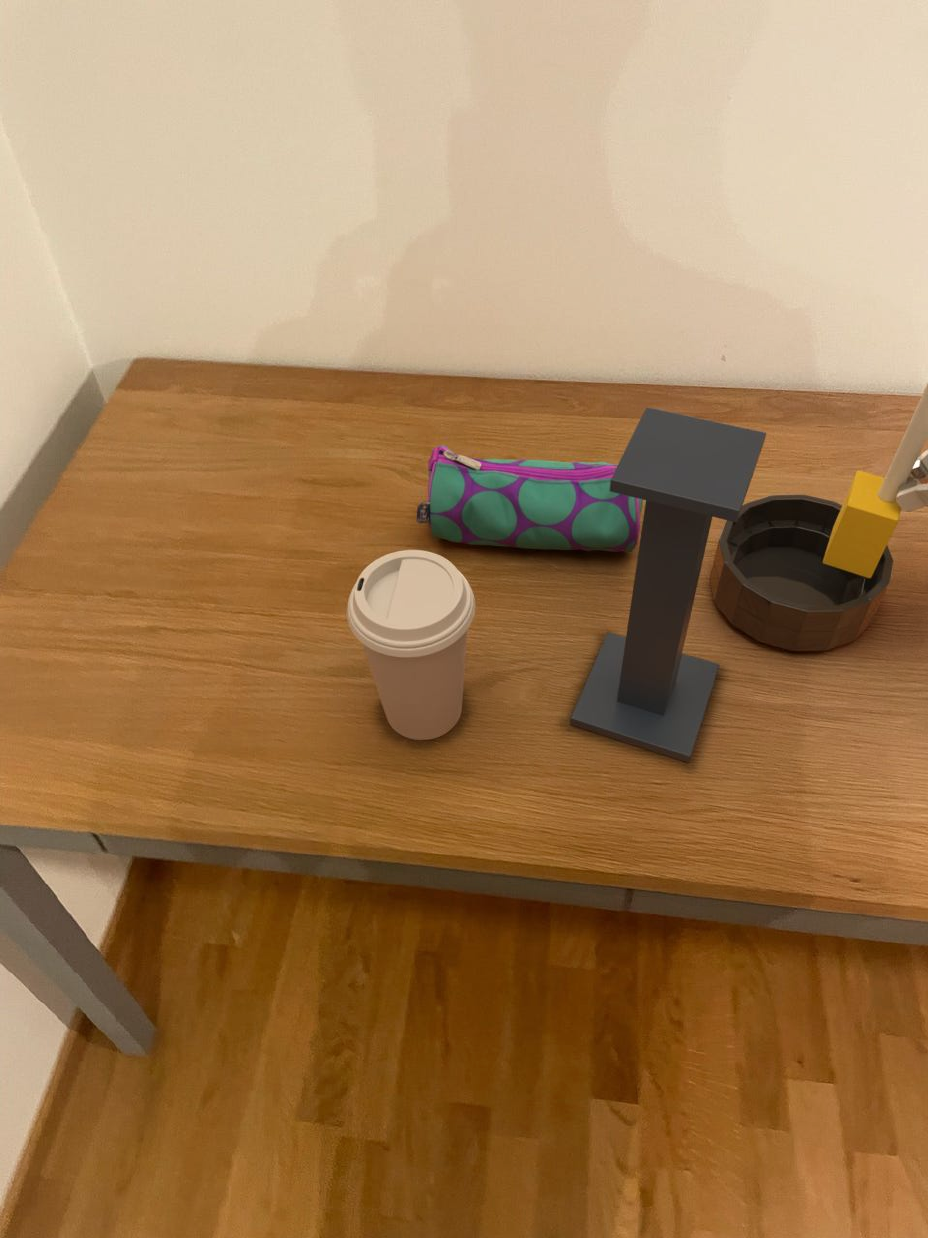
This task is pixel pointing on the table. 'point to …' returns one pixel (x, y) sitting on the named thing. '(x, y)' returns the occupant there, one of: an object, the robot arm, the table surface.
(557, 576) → the table surface
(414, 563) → the coffee cup
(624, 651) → the stand
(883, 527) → the sponge wand
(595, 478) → the pencil case
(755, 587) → the bowl
